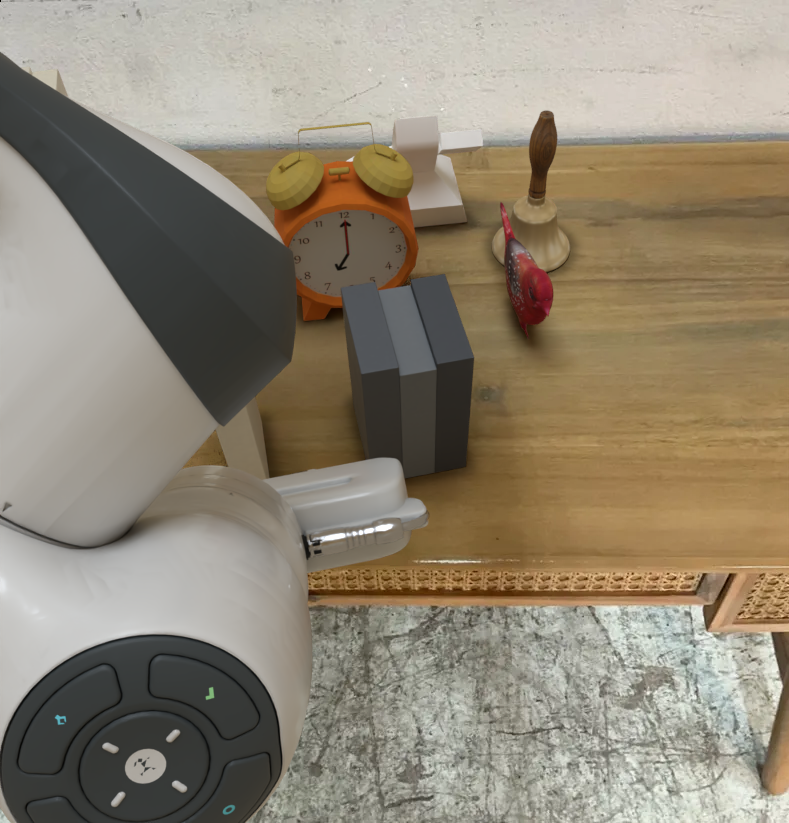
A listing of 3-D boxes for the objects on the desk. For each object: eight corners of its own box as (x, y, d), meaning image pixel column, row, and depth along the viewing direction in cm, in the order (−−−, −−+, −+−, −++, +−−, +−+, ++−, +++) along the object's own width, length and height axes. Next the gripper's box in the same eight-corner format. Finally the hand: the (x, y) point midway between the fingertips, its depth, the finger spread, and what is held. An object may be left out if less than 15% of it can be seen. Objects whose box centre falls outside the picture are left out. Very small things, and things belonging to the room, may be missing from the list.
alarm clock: (288, 327, 83) (255, 158, 67) (285, 284, 87) (254, 114, 71) (419, 312, 84) (419, 141, 68) (411, 270, 87) (408, 98, 71)
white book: (242, 509, 70) (208, 410, 59) (233, 425, 76) (200, 320, 65) (273, 504, 71) (245, 403, 59) (261, 420, 76) (233, 314, 65)
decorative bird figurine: (523, 375, 78) (534, 300, 70) (483, 249, 89) (489, 171, 81) (553, 371, 79) (568, 295, 71) (509, 246, 89) (518, 168, 81)
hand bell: (475, 250, 89) (484, 118, 76) (523, 211, 92) (539, 79, 80) (538, 286, 85) (558, 154, 73) (585, 245, 89) (612, 112, 76)
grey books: (371, 485, 72) (361, 374, 60) (353, 404, 77) (340, 287, 65) (466, 466, 72) (474, 353, 60) (441, 388, 78) (444, 269, 66)
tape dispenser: (346, 192, 95) (336, 82, 84) (467, 180, 96) (472, 69, 85) (352, 241, 90) (343, 131, 79) (480, 228, 91) (488, 117, 80)
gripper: (425, 456, 37) (388, 416, 51) (-48, 546, 35) (46, 479, 49) (447, 590, 38) (405, 515, 52) (-13, 685, 36) (70, 581, 50)
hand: (228, 498), depth 50 cm, fingers open, 8 cm apart
